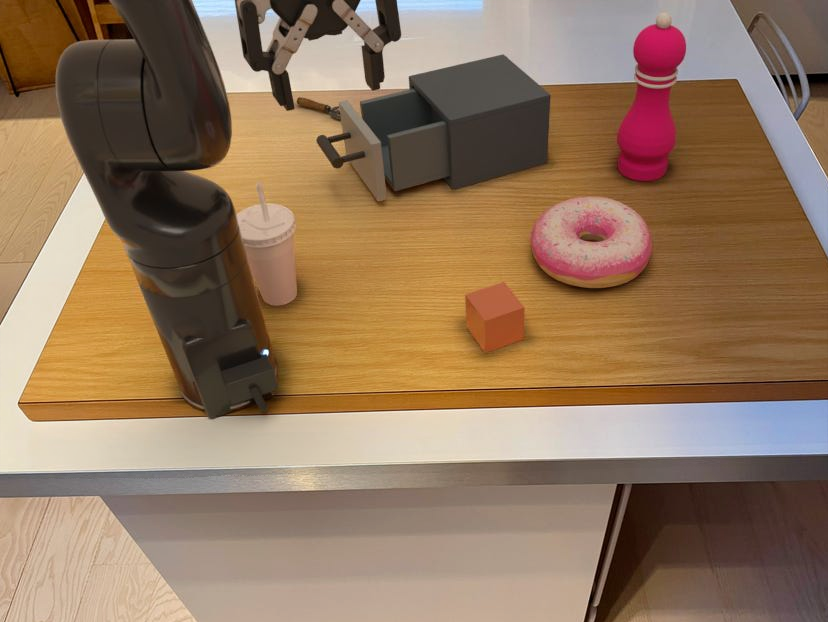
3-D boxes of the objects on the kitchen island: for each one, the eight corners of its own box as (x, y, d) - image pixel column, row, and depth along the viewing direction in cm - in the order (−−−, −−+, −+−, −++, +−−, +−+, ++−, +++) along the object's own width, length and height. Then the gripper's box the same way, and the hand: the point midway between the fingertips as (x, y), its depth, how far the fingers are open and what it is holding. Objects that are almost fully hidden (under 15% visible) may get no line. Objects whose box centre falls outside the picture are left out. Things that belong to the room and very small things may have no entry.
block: (523, 339, 83) (524, 307, 80) (484, 353, 82) (484, 320, 79) (503, 313, 86) (504, 281, 83) (466, 326, 85) (465, 294, 82)
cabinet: (452, 190, 103) (449, 120, 96) (413, 143, 111) (408, 75, 104) (547, 163, 107) (550, 94, 100) (502, 120, 115) (503, 53, 108)
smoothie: (297, 317, 86) (272, 206, 76) (240, 309, 87) (208, 198, 77) (317, 279, 91) (296, 169, 81) (263, 272, 92) (235, 162, 82)
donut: (551, 308, 87) (554, 271, 83) (514, 235, 96) (515, 199, 92) (668, 285, 89) (676, 248, 86) (621, 216, 98) (626, 180, 95)
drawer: (345, 211, 98) (336, 153, 93) (315, 165, 106) (305, 109, 100) (470, 175, 103) (469, 119, 98) (433, 134, 111) (430, 79, 105)
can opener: (296, 105, 118) (295, 98, 117) (307, 99, 120) (306, 91, 119) (344, 123, 115) (343, 115, 114) (355, 116, 116) (354, 108, 115)
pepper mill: (668, 155, 108) (695, 0, 94) (672, 185, 103) (700, 27, 89) (613, 152, 109) (631, -1, 94) (614, 182, 104) (633, 25, 89)
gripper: (229, -62, 62) (270, 132, 73) (403, -91, 66) (416, 96, 78) (205, -90, 67) (247, 97, 78) (368, -115, 71) (385, 65, 83)
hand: (331, 96), depth 78 cm, fingers open, 8 cm apart
